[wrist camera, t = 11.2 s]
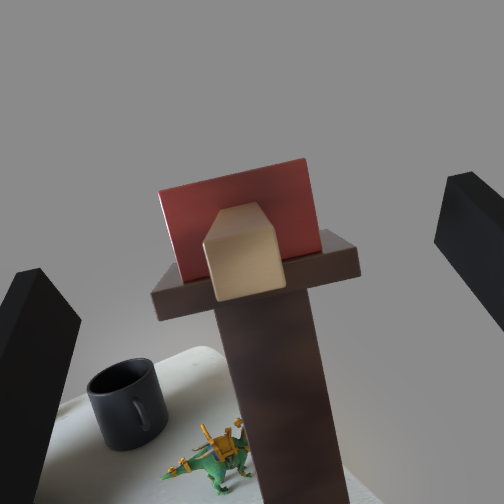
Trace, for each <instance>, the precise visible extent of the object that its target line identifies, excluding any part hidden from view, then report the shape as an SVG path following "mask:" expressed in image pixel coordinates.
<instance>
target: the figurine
mask: <svg viewBox="0 0 504 504" xmlns="http://www.w3.org/2000/svg"><path fill="white" fill-rule="evenodd" d="M241 423H243V421H242V419H240V418H237V419H236V421H235V422H234V424H235V426H237V427H238V428H240V427H241V425H240V424H241ZM201 428H202V429H203V431H204V434H205V436H206V438H207V439H208V442H206V443H204V444H202V445H201V446H199V447H198V448H196V449H192V451H197V450H200V449H202V448H204V447H206V446H207V447H206V448H204V449H203V450H201V451H200V452H199V453H198V454H197V455H195V456H194V457H193V458H191V459H190V460H188V461H186V460H185V458H184V457H183V458H182V459H181V460H180V461H179V463H180V465H181V466H180V467H178V468H177V469H174V466H172V467H170V469H168V471H169V473H168V474H166V475H164V476H163V477H162V478H161V480H164V479H168V478H171V477H176V476H178V475H180V474H183V473H189V472H192V471H193V470H197V469H205V470H206V471H207V473H208V477H209V478H210V479H211V480H212V481H213V485H212V486H213V487H214V488H215V489H217V490H218V492H217V495H219V493H222V494H228V493H229V491H228V488H227V487H226V486H225V487H224V488H221V487H220V485H219V484H220V483H223V482H224V481H223V480H224V478H225V474H226V470H230V469H234V468H235V467H237V468H238V471H239V474H241V476H244V477H245V478H251V476H250V475H251V473H248V474H247V475H246V474H245V472H244V471H243V470H245V469H246V468H247V467H245V466H244V463H245V461H246V458H247V453H248V452H250V448H249V444H248V441H247V437H246V433H245V429H244V426H243V427H242V430H241V437H240V439H237V438H234V437H231V427H230V428H226V429H225V433H227V434H224V436H220V437H217V438H215V439H213V440H212V438H211V436H210V435H209V433H208V432H207V430H206V428H205V426H204V425H202V424H201ZM208 445H209V446H208ZM182 462H183V464H182ZM242 467H243V468H242ZM170 471H171V472H170Z"/></svg>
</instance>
